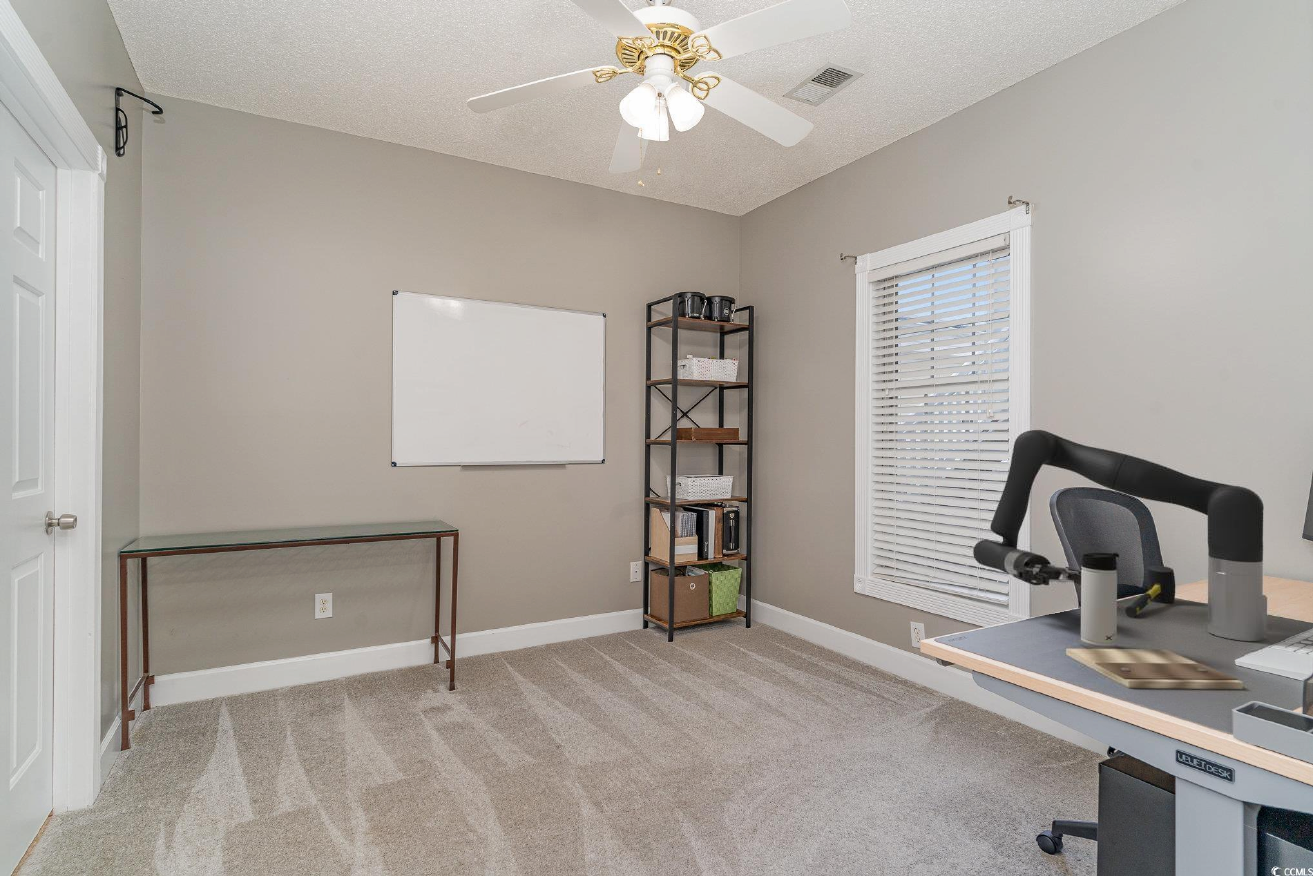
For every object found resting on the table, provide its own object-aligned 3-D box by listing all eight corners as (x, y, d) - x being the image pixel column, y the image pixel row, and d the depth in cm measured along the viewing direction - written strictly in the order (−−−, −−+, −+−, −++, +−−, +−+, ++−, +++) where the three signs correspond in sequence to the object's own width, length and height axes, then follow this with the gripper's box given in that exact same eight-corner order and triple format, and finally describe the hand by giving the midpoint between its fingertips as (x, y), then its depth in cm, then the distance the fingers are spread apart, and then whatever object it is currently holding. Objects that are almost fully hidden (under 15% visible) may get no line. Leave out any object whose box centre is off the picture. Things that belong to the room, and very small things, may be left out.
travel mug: (1119, 654, 136) (1120, 555, 136) (1080, 648, 140) (1081, 552, 139) (1117, 645, 141) (1118, 551, 141) (1080, 640, 145) (1081, 548, 145)
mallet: (1145, 621, 161) (1145, 581, 161) (1116, 616, 166) (1116, 577, 166) (1178, 602, 180) (1178, 567, 180) (1151, 598, 184) (1151, 563, 184)
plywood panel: (1164, 655, 135) (1165, 647, 135) (1242, 689, 117) (1242, 679, 117) (1066, 654, 135) (1066, 646, 135) (1128, 688, 117) (1128, 679, 117)
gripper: (999, 551, 168) (1035, 564, 152) (1056, 552, 168) (1098, 565, 152) (998, 581, 168) (1034, 597, 152) (1055, 582, 168) (1097, 598, 152)
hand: (1066, 581), depth 152 cm, fingers open, 8 cm apart
